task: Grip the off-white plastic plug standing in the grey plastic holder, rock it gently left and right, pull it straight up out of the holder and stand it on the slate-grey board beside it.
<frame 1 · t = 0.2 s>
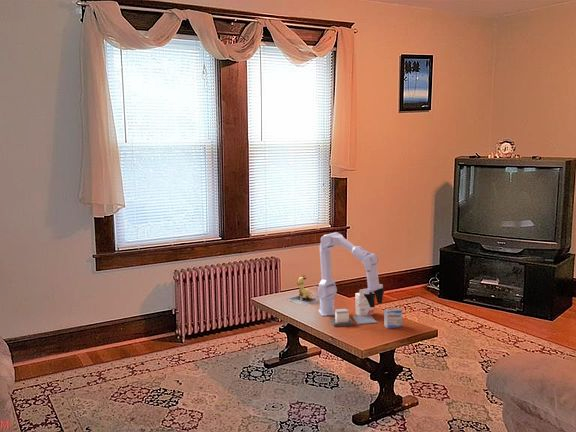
hand: (376, 305, 280), 11 cm above the table, tool pointing down, fingers open, 7 cm apart
medicine box: (393, 326, 280), on the table
slate board: (364, 320, 290), on the table
ink cartridge box: (364, 314, 299), on the table
holder: (341, 323, 286), on the table
plug: (341, 316, 286), in the holder
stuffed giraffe: (306, 300, 328), on the table
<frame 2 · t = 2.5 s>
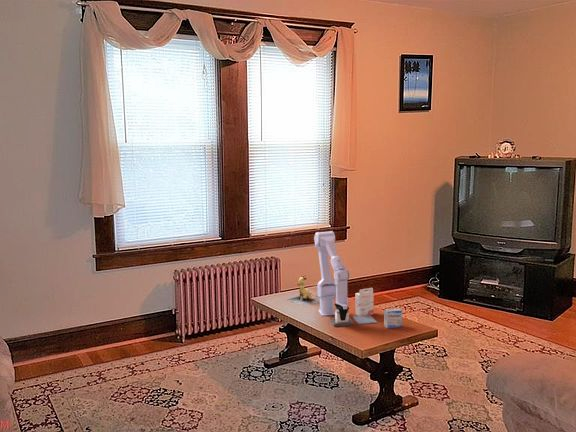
hand: (341, 318, 286), 2 cm above the table, tool pointing down, fingers closed on plug, 4 cm apart
plug: (341, 316, 286), in the holder, touching gripper
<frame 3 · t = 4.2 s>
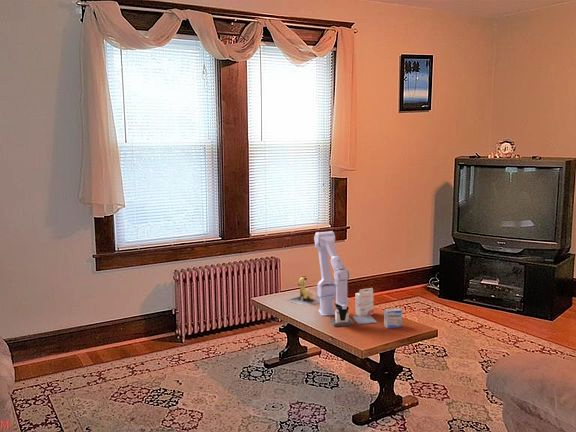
hand: (341, 318, 286), 2 cm above the table, tool pointing down, fingers closed on plug, 4 cm apart
plug: (341, 316, 286), in the holder, touching gripper
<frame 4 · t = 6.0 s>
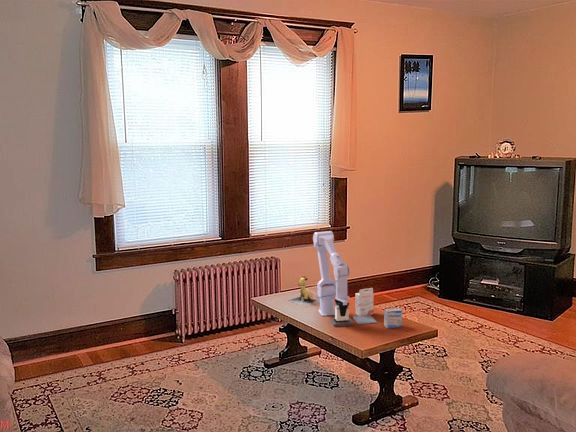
hand: (341, 314, 286), 5 cm above the table, tool pointing down, fingers closed on plug, 4 cm apart
plug: (341, 312, 285), point 6 cm above the table, touching gripper
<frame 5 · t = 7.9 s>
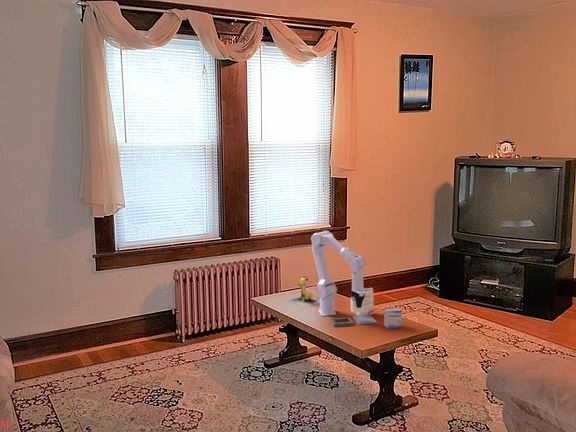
hand: (357, 306, 288), 8 cm above the table, tool pointing down, fingers closed on plug, 4 cm apart
plug: (357, 304, 288), point 9 cm above the table, touching gripper
when the fingers open (5 cm above the table, at t = 9.5 s): plug drops 2 cm, resting on slate board.
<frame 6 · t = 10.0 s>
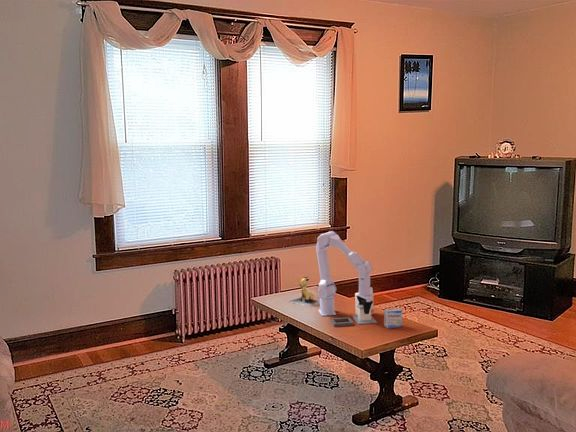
hand: (364, 311, 289), 5 cm above the table, tool pointing down, fingers open, 7 cm apart
ink cartridge box: (364, 314, 299), on the table, touching gripper
plug: (364, 312, 289), on the slate board, point 4 cm above the table
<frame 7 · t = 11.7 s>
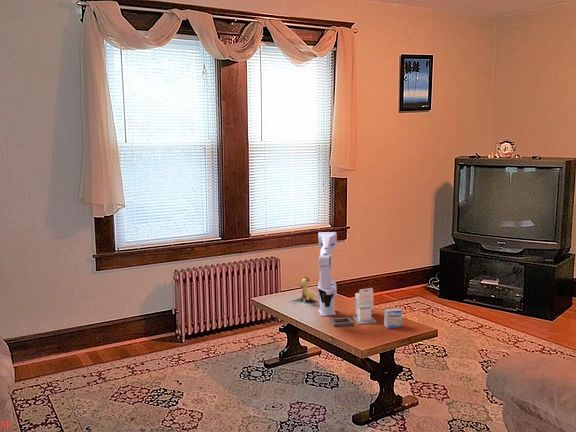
hand: (325, 304, 286), 9 cm above the table, tool pointing down, fingers open, 7 cm apart
ink cartridge box: (364, 314, 299), on the table
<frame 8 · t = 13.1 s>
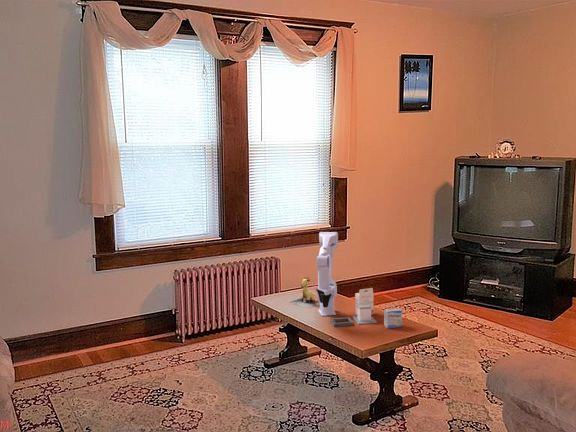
hand: (323, 304, 286), 9 cm above the table, tool pointing down, fingers open, 7 cm apart
at the end: plug inside the target area (0.2 cm from its centre), point 4.1 cm above the table; plug tilted 0°; the gripper is holding nothing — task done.
